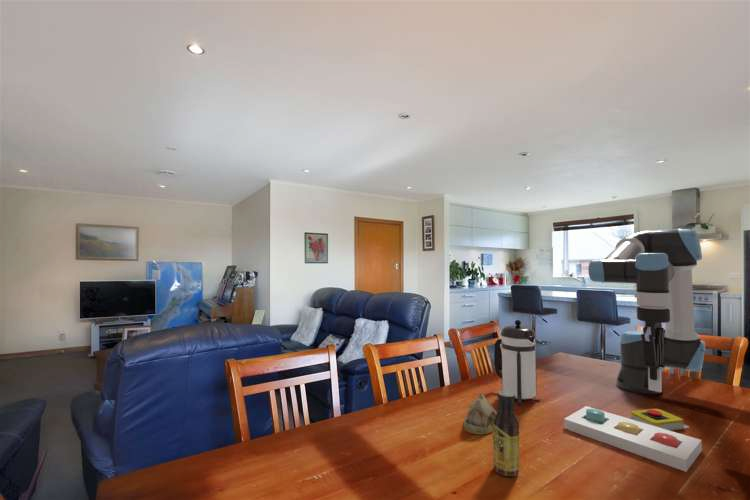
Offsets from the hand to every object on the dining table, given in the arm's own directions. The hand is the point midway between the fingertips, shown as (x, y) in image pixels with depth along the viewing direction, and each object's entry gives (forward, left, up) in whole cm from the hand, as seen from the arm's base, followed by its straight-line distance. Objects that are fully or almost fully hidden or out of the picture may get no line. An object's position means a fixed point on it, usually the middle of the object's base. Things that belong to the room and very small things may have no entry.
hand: (655, 390), depth 103 cm
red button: (0, +2, -16) cm, 16 cm away
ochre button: (0, -7, -16) cm, 17 cm away
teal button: (0, -16, -15) cm, 22 cm away
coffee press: (-4, -46, -16) cm, 49 cm away
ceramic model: (+27, -39, -17) cm, 51 cm away
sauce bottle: (+43, -20, -16) cm, 50 cm away
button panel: (0, -7, -16) cm, 18 cm away
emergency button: (-19, -5, -17) cm, 26 cm away
